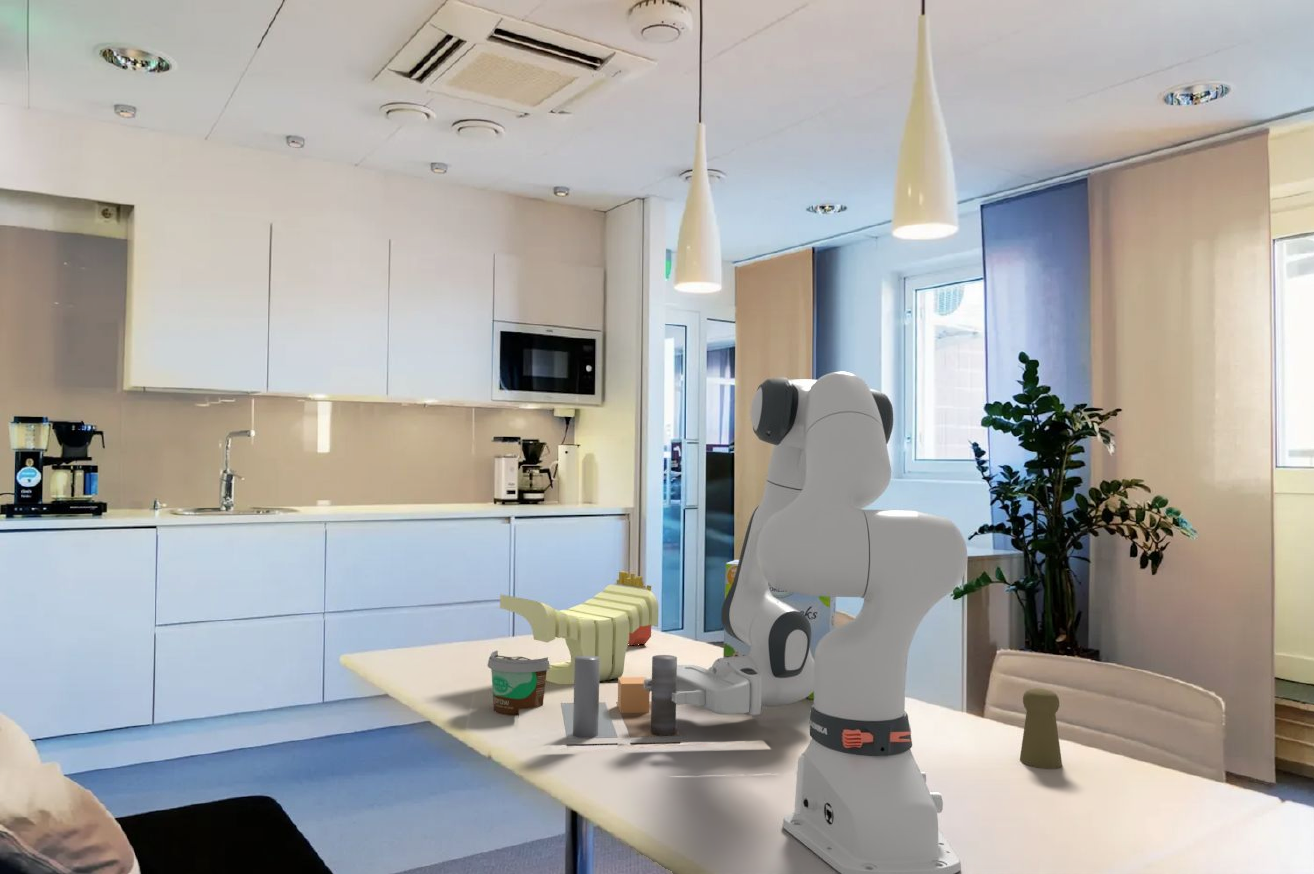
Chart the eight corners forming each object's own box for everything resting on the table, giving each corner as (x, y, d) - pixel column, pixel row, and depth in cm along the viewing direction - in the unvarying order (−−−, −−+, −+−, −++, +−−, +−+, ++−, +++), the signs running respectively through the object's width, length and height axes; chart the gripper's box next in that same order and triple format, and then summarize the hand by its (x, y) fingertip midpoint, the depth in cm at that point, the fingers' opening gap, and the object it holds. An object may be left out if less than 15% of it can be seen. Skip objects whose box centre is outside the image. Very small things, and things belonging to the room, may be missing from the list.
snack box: (720, 691, 180) (722, 562, 181) (731, 682, 188) (733, 558, 190) (829, 702, 173) (831, 567, 174) (835, 692, 181) (837, 564, 183)
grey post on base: (617, 744, 142) (619, 660, 142) (566, 745, 141) (569, 660, 141) (605, 708, 164) (606, 635, 164) (560, 709, 162) (562, 635, 163)
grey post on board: (680, 743, 143) (682, 659, 144) (630, 744, 142) (632, 660, 143) (659, 708, 165) (661, 635, 166) (616, 708, 164) (617, 635, 165)
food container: (471, 712, 160) (473, 655, 161) (493, 704, 166) (494, 649, 166) (528, 722, 155) (529, 663, 155) (548, 714, 160) (550, 657, 160)
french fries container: (628, 639, 236) (629, 570, 236) (652, 646, 227) (653, 574, 227) (613, 640, 233) (615, 570, 234) (637, 647, 224) (638, 575, 225)
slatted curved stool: (545, 696, 173) (548, 603, 173) (497, 681, 184) (500, 594, 185) (656, 674, 194) (658, 591, 195) (607, 662, 205) (609, 584, 206)
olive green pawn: (1066, 770, 135) (1066, 695, 135) (1023, 766, 136) (1024, 693, 137) (1057, 757, 141) (1057, 686, 141) (1016, 754, 142) (1016, 684, 143)
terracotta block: (649, 712, 157) (649, 683, 158) (620, 712, 157) (621, 683, 157) (645, 705, 162) (645, 677, 162) (617, 705, 162) (618, 677, 162)
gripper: (699, 653, 161) (630, 659, 154) (766, 677, 143) (691, 685, 136) (698, 689, 160) (629, 697, 154) (765, 717, 143) (690, 727, 136)
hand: (659, 691), depth 145 cm, fingers open, 8 cm apart
